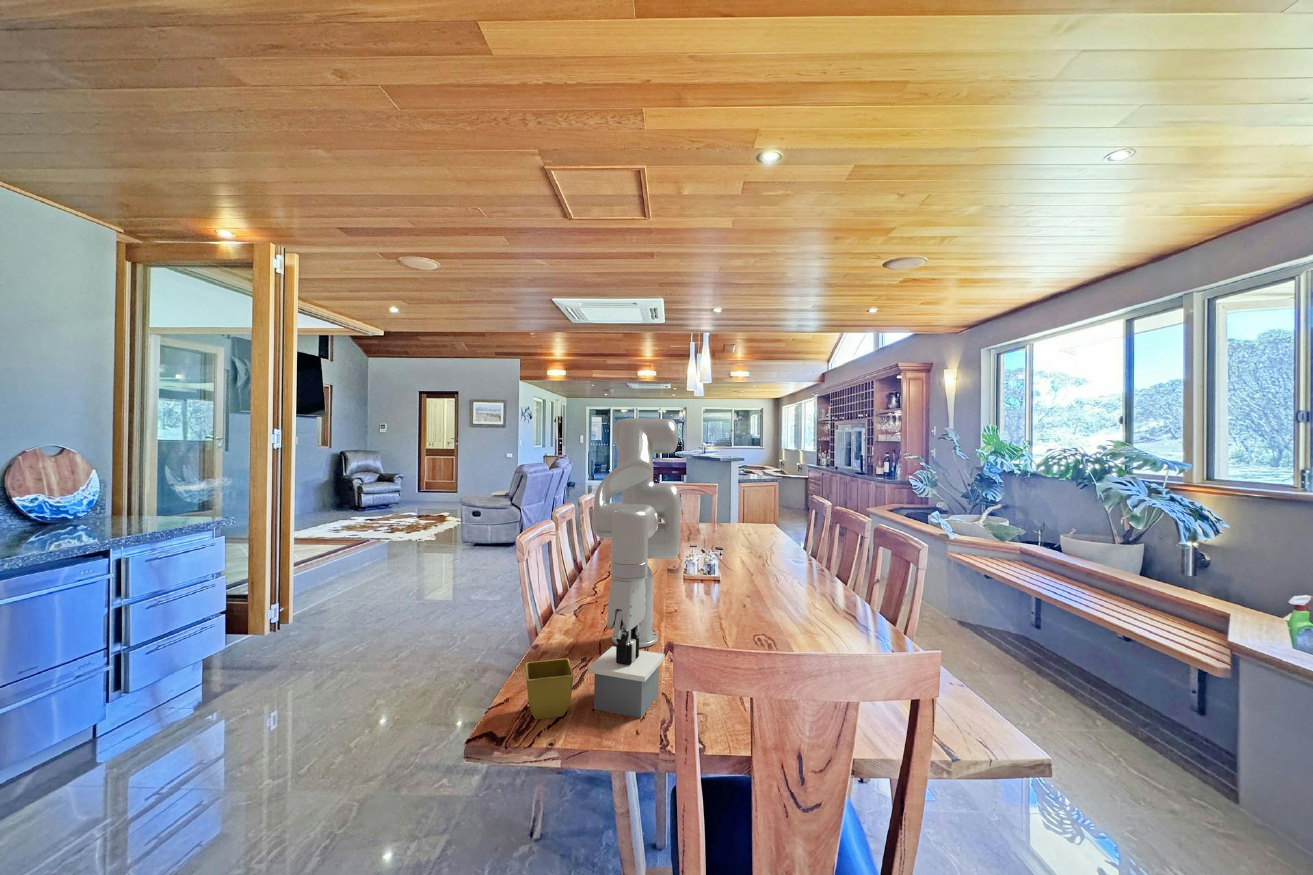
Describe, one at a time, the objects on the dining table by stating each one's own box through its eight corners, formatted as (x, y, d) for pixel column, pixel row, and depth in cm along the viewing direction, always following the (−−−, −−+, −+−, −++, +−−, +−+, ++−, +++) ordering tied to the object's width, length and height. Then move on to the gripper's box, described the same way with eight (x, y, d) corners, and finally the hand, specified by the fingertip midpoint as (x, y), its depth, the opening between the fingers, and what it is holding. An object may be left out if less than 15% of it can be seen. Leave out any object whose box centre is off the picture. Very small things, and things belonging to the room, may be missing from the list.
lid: (612, 654, 119) (612, 627, 120) (664, 662, 116) (665, 634, 116) (587, 676, 108) (588, 646, 108) (644, 686, 104) (645, 655, 104)
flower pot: (525, 728, 102) (526, 679, 102) (524, 706, 110) (524, 661, 111) (573, 722, 104) (573, 675, 105) (568, 701, 113) (568, 657, 113)
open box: (614, 690, 118) (614, 653, 118) (658, 698, 115) (658, 660, 115) (593, 711, 109) (594, 671, 109) (641, 720, 105) (641, 679, 105)
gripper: (627, 560, 121) (625, 643, 121) (594, 577, 105) (593, 673, 105) (659, 563, 119) (658, 648, 118) (631, 581, 103) (629, 679, 103)
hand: (627, 659), depth 112 cm, fingers closed on lid, 3 cm apart
